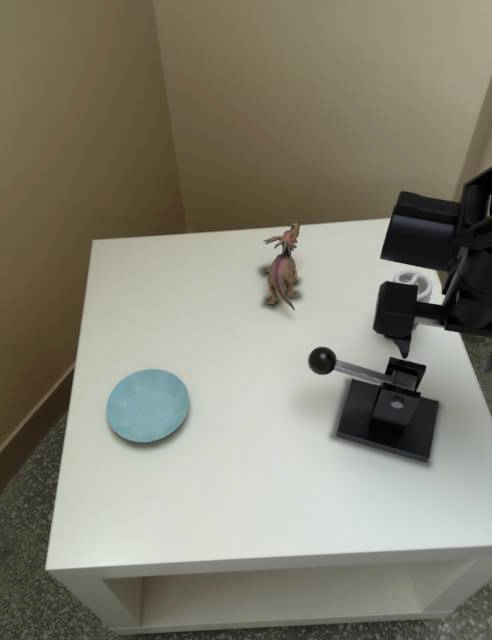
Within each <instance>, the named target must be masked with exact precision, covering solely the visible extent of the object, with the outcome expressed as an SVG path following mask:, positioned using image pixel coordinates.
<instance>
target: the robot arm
mask: <svg viewBox="0 0 492 640" xmlns="http://www.w3.org/2000/svg"><path fill="white" fill-rule="evenodd" d="M379 260H384V261H388V262H393V263H398V264H403V265H408V266H414V267H417V268H423V269H427V270H432V271H436V272H443V273H446V275H445V278H444V280H443V283H442V285H441V295H443V296H444V298H443V300H442V303H441V304H438V303H431V302H429V303H426V302H419V301H417V294H418V286H417V285H411V284H405V283H398V282H392V280H385V281H383V282H382V283H380V284H379V288H378V292H377V295H376V296H377V297H376V302H375V303H376V304H375V310H374V317H373V322H372V323H373V324H372V330H373V331H374V332H375V333H376V334H377V335H382V336H383V337H384V338H385V339H386V340H391V341H392V342H393V343H394V344H395V345H396V347H397V348H398V350H399V353H400V356H401V359H402V360H407V358H408V357H409V354H410V349H411V342H412V333H413V332H412V329H413V325H414V323H416V324H418V325H423V326H427V327H429V326H430V327H435V328H442V329H443V331H447V332H451V333H452V332H453V333H459V334H465V335H472V336H476V337H483V338H489V339H492V165H491V166H490V167H488V168H487V169H485V170H484V171H482V172H480V173H479V174H478V175H475V176H474V177H472V178H470V180H468V181H466V182H464V184H463V186H462V190H461V196H460V199H459V201H454V200H447V199H442V198H435V197H429V196H425V195H421V194H418V193H416V192H413V191H412V192H411V191H406V190H401V191H399V193H398V197H397V199H396V202H395V205H393V208H392V211H391V216H390V219H389V222H388V226H387V229H386V233H385V237H384V239H383V244H382V248H381V252H380V256H379ZM482 366H483V367H482V373H484V374H489V373H492V351H491V352H490V353H489V355H488V356H487V357H486V360H485V361H484V364H483V365H482Z"/></svg>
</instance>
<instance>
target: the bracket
mask: <svg viewBox="0 0 492 640" xmlns="http://www.w3.org/2000/svg"><path fill="white" fill-rule="evenodd" d="M394 370H398V371H401V372H404V373H408V374H411V375H414V376H417V380H416V385H415V390H414V391H413V390H409V389H405V388H402V387H398V386H394V385H390V384H386V383H383V385H380V384H376V383H372V382H369V381H365V380H360V379H356V378H351V379H350V385H349V388H348V392H347V395H346V399H345V402H344V406H343V410H342V413H341V417H340V421H339V423H338V427H337V431H336V435H335V436H336V437H338V438H341V439H344V440H349V441H352V442H356V443H359V444H362V445H366V446H369V447H372V448H375V449H380V450H381V451H382V450H383V451H386V452H389V453H392V454H396V455H400V456H403V457H407V458H410V459H413V460H417V461H420V462H424V463H428V461H429V460H430V454H431V451H432V450H431V449H432V444H433V440H434V439H433V438H434V432H435V427H436V421H437V415H438V410H439V403H440V401H439V400H435V399H432V398H428V397H424V396H422V392H420V391H418V389H419V387H420V385H421V382H422V381H423V378H424V376H425V374H426V370H427V364H422V363H418V362H414V361H409V360H407V359H403V358H398V357H394V356H389V358H388V361H387V364H386V366H385V369H384V372H383V374H386V375H390V376H391V375H392V373H393V371H394Z"/></svg>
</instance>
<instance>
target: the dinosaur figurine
mask: <svg viewBox="0 0 492 640" xmlns="http://www.w3.org/2000/svg"><path fill="white" fill-rule="evenodd" d="M287 227H290V228H289V229H287V230H285V231H284V232H283V233H282V235H278V236H276V235H275V236H272V237H269V238H267V239H264V240H263V241H262V242H263V243H265V245H268V244H272V243H274V242H277V241H278V242H277V243H276V244H275V245H274V247H273V248H274V249H277V248H279V246H281V249H282V250H281V253H279V254H277V255H276V257H275V258H274V260H273V261H272V262H271V264H270V267H265V268H264V269H263V273H265V274H267V273H268V275H267V283H268V288H269V293H270V294H271V298H266V302H265V305H266V304H267V305H274V304H276V302H277V301H278V297H279V298H280V299H281V300H282V302H284V303H286V305H288V306H289V307H290V308H291V309H292V310H293V311H294V312H295V311H296V308H295V306H294V304H293V302H292V301H291V300H290V298H300V297H299V296H300V295H299V294H298V292H297V291H294V287H295V284H297V283H298V270H297V269H296V268H297V265H296V262H295V259H294V258H293V256H292V252H295V251H294V250H296V249H297V248H298V245H297V244H298V237H299V235H300V230H301V224H300V222H295V223H289V224H288V225H287ZM284 287H285V289H286V292H285V290H284ZM288 297H290V298H288Z"/></svg>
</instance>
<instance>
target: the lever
mask: <svg viewBox="0 0 492 640" xmlns="http://www.w3.org/2000/svg"><path fill="white" fill-rule="evenodd" d="M307 364H308V367H309V369H310V370H311V372H313V373H314V374H316V375H318V376H326V375H329V374H331V373H332V372H333V371H336V372H338V373H342V374H345V375H349V376H351V377H355V378H358V379H361V380H363V381H366V382H370V383H373V384H376V385H379V386H380V385H383V383H386V384H390V385H394V386H398V387H402V388H405V389H409V390H413V391H414V390H415V385H416V380H417V376H414V375H411V374H408V373H404V372H401V371H398V370H394V371H393V373H392V375H391V376H390V375H386V374H384V372H379V371H376V370H374V369H369V368H367V367H363V366H359V365H356V364H353V363H350V362H347V361H343V360H341V359H338V357H337V354H336V353H335V352H334V350H333V349H331V348H330V347H327V346H318V347H315V348H314V349H312V350H311V351H310V352H309V355H308V357H307Z"/></svg>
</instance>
